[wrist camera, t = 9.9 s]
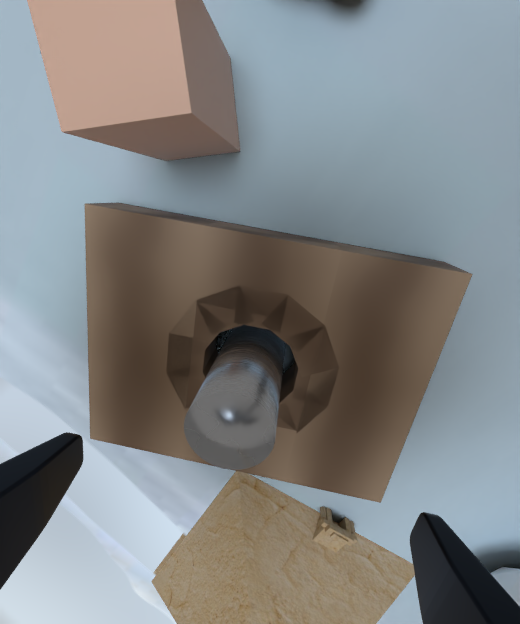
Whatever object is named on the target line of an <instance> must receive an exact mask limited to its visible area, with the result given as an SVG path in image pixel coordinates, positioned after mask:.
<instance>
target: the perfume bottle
mask: <svg viewBox="0 0 520 624" xmlns="http://www.w3.org/2000/svg"><path fill="white" fill-rule="evenodd" d="M491 575H492V576H493V577H494V578H495V579H496V580H497V581H498V582H499V584H500V585H501V586H502V587H503V588H504V589H505V590H506V592H507V593H508V594H509V595H510V596H511V597H512V598H513V599H514V601H515V602H516V603H517V604H518V605H519V606H520V569H516V568H508V567H501V568H499V569H497V570H495V571H493V572H491Z"/></svg>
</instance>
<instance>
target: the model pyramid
mask: <svg viewBox="0 0 520 624" xmlns="http://www.w3.org/2000/svg"><path fill="white" fill-rule="evenodd" d="M153 573H154V574H155V575H156V576H155V578H154V579H153V580H152V583H153V585H154V587H155V588H156V590H157V591H158V593H159V595H160V596H161V598H162V600H163V601H164V603H165V605H166V606H167V608H168V610H169V611H170V613H171V614H172V616H173V618H174V619H175V621H176V623H177V624H376V623H377V622H378V621H379V619H380V618H381V617H382V616H383V614H384V613H385V612H386V611H387V609H388V608H389V607H390V606H391V604H392V603H393V602H394V601H395V599H396V598H397V597H398V595H399V594H400V593H401V592H402V590H403V589H404V588H405V587H406V585H407V584H408V583H409V582H410V580H411V579H412V578H413V577H414V575H415V572H414V566H413V564H412V563H410V562H408V561H406V560H405V559H403V558H401V557H399V556H397V555H396V554H394V553H392V552H390V551H388V550H386V549H385V548H383V547H381V546H379V545H377V544H376V543H374V542H372V541H370V540H368V539H366V538H365V537H363V536H361V535H359V534H357V533H355V529H354V523H353V521H350V520H349V519H347V518H346V517H344V519H343V520H342V521H341V522H340V523H337V522H335V521H334V520H332V513H331V510H330V509H329V508H327V507H326V508H325V507H320V513H319V512H317V511H315V510H314V509H312V508H310V507H308V506H306V505H304V504H303V503H301V502H299V501H297V500H295V499H294V498H292V497H290V496H288V495H286V494H284V493H283V492H281V491H279V490H277V489H275V488H274V487H272V486H270V485H268V484H266V483H264V482H263V481H261V480H259V479H257V478H255V477H253V476H252V475H250V474H248V473H244V472H240V471H236V472H235V473H234V475H233V476H232V477H231V478H230V480H229V481H228V482H227V484H226V485H225V486H224V488H223V489H222V490H221V492H220V493H219V494H218V495H217V497H216V498H215V499H214V501H213V502H212V503H211V505H210V506H209V507H208V508H207V510H206V511H205V512H204V514H203V515H202V516H201V518H200V519H199V520H198V522H197V523H196V524H195V525H194V527H193V528H192V529H191V531H190V532H189V533H188V535H187V536H186V535H185V534H184V533H183V534H182V535H181V537H180V538H179V539H178V541H177V542H176V543H175V545H174V546H173V547H172V549H171V550H170V551H169V553H168V554H167V555H166V556H165V558H164V559H163V561H162V562H161V563H160V564H159V566H158V567H157V568H156V570H155V571H154V572H153Z"/></svg>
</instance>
